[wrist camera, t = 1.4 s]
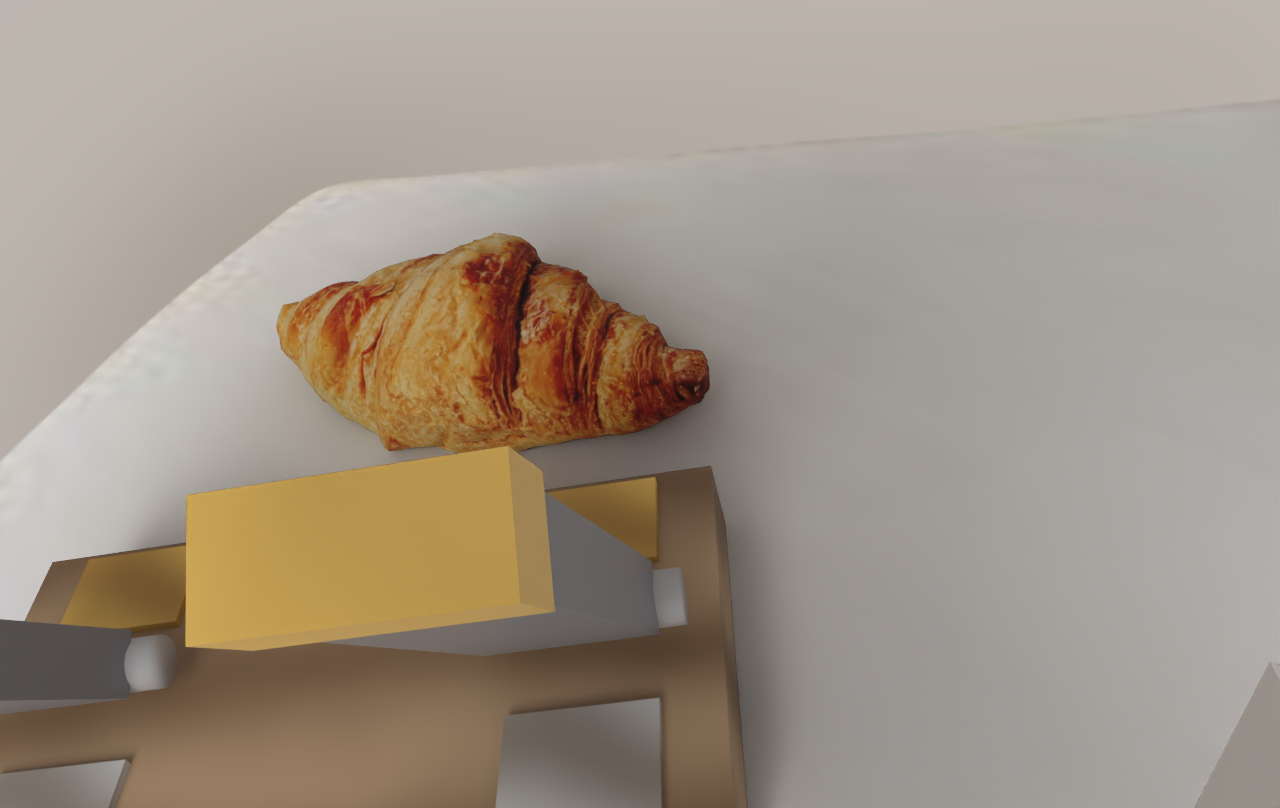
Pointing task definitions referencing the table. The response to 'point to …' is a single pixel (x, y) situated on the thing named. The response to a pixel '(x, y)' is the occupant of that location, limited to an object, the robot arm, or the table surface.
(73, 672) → the lever
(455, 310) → the croissant
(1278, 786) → the robot arm
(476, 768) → the wooden base board
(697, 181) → the table surface
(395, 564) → the lever
